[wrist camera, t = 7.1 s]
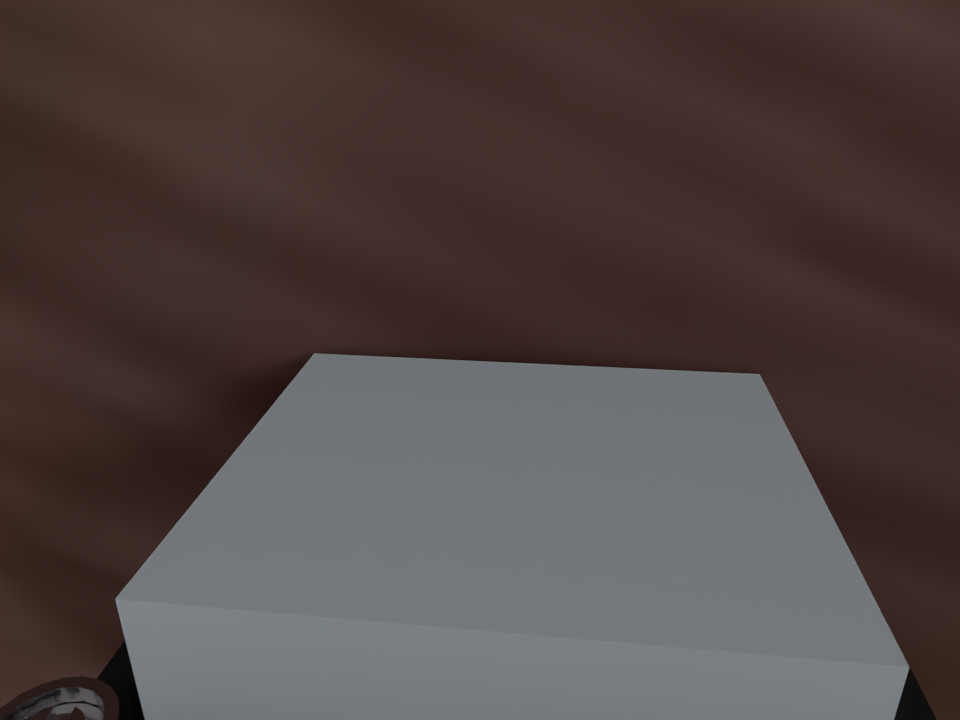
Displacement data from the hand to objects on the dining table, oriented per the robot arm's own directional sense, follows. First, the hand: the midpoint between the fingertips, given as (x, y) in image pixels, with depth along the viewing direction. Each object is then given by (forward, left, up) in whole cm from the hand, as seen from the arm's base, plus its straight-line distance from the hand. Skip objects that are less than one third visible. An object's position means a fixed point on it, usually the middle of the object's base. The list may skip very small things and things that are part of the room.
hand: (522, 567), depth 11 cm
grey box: (0, 0, -1) cm, 1 cm away
